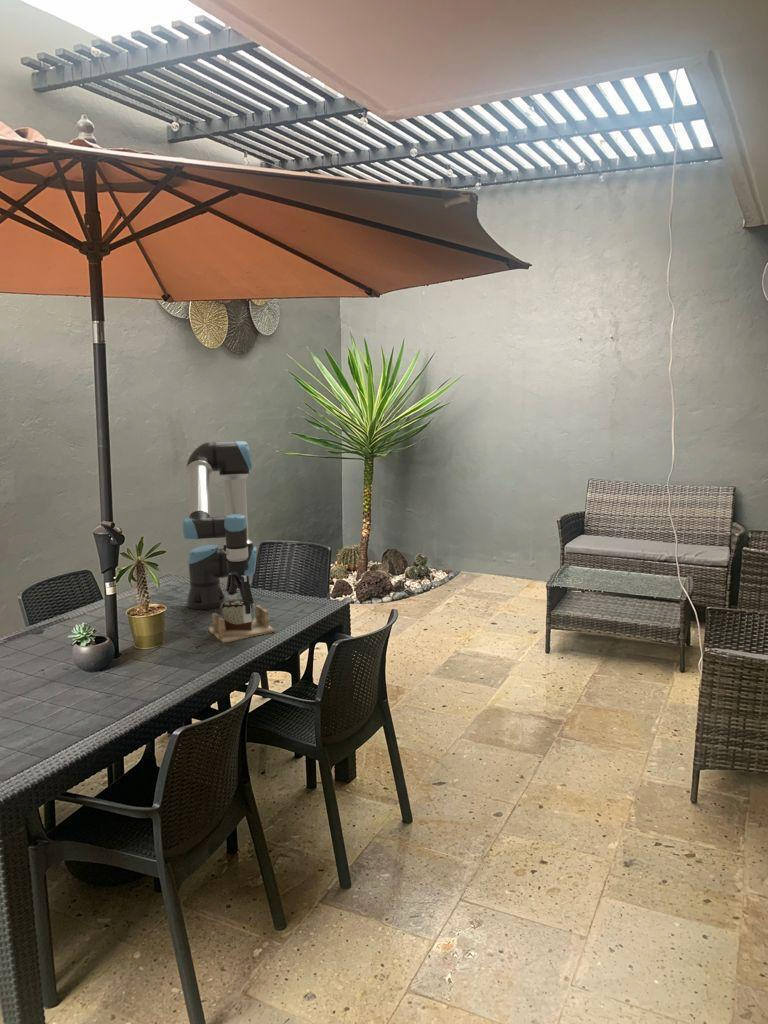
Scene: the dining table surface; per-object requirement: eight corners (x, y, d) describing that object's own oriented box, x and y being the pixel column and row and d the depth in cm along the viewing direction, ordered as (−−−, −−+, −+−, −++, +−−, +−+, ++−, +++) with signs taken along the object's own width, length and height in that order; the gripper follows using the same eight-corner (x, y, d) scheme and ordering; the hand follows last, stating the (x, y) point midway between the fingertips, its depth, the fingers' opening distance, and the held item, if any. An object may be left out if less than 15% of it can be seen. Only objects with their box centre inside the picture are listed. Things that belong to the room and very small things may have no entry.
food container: (259, 624, 264) (258, 598, 262) (255, 630, 258) (254, 603, 256) (226, 624, 265) (224, 598, 263) (221, 630, 259) (219, 603, 257)
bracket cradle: (208, 629, 263) (206, 611, 262) (257, 620, 273) (256, 602, 271) (223, 643, 249) (222, 623, 248) (275, 632, 259) (274, 613, 258)
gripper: (215, 553, 265) (218, 609, 269) (239, 567, 244) (243, 628, 248) (235, 550, 269) (238, 606, 273) (261, 564, 248) (264, 624, 252)
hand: (240, 617), depth 260 cm, fingers open, 13 cm apart
